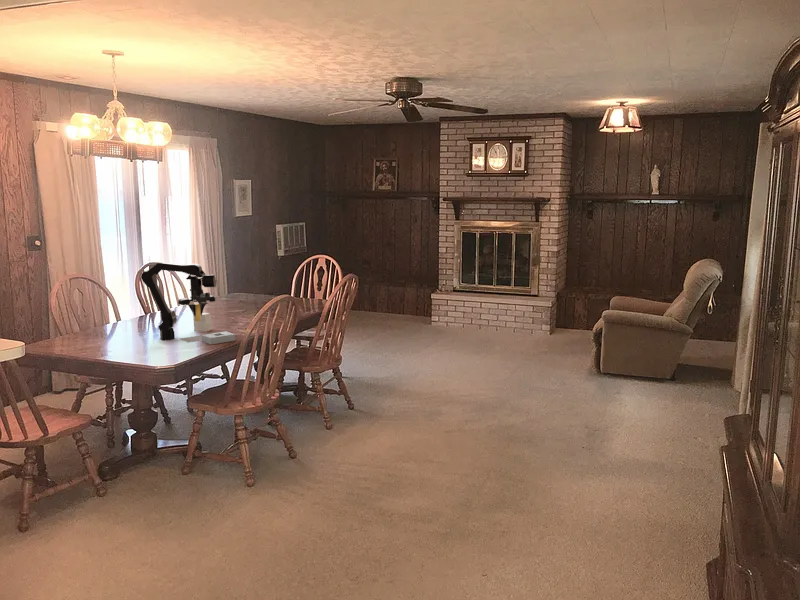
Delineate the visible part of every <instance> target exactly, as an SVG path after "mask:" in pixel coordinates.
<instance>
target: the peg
mask: <svg viewBox="0 0 800 600" xmlns="http://www.w3.org/2000/svg"><path fill="white" fill-rule="evenodd" d="M195 304H196V305H195V312H196V316H195V321H201V311H200V304H199V303H195Z"/></svg>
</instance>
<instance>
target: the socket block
mask: <svg viewBox="0 0 800 600" xmlns="http://www.w3.org/2000/svg"><path fill="white" fill-rule="evenodd" d="M201 341H202V342H204V343H206V344H209V345H216V344H217V345H218V344H222V343H223V344H224V343H229V342H235V341H236V335H235V333H232V332H229V331H227V330H225V331H220V332H218V331H217V332H212V333H206V334H202V340H201Z"/></svg>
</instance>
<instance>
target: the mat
mask: <svg viewBox="0 0 800 600" xmlns="http://www.w3.org/2000/svg"><path fill="white" fill-rule="evenodd" d="M202 335H203V334H202ZM202 335H201V334H199V335H194V336H188V337H187V336H186V337H182V338H181V337H180V338H179V340H180V341H181V340H182V341H184V342H186V343H193V342H200V341H202Z"/></svg>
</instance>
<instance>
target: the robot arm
mask: <svg viewBox="0 0 800 600" xmlns="http://www.w3.org/2000/svg"><path fill="white" fill-rule="evenodd" d="M161 271H168V272H169V271H170V272H180V273H184V274H187V275H188V276H187V277H186V279H185V280H189V281H190V282H189V283H190V289H189V291H190V296H189V297H190V298H189V299H188V298H185V297H184V298H179V299H178V302H177V303H178V305H179V306H180V305H181V306H188V307H189V309H190V311H191V312H192V316H193V315H194V316H196V312H195V305H196V304H200V311H201V315H202V313H204V309H205V307H206V305H207V304H209V302H210V303H213V302H216V297H215V295H211V293H210V292H204V289H203V287H204V288H216V287H217V279H216V275H215V274H207V273H205V271H204V270H203V268H202V265H200V264H199V263H189V264H187V263H186V264H180V263H170V262H169V263H168V262H163V261H159V262H157V263H156V264H155V265H154V266H152V267H151V268H149V269H148V270H146V271H143V272H142V273H141V276H140V279H141V281H142V282H143V284H144V285H146V287H147V288H148V289H149V290H150V292H151V294H152V297H153V298H154V301H155V303H156V305H157V307H158V309H159V311H160V319H161V324H159V325H158V329H159V336H160V337H159V340H161V341H171V340H175V339H176V337H175V335H176V334H175V330H174V325H175V324H176V323H177V321H178V318H177V317H178V316H177V314H176V312H175V310H174V309H173V310H171V308H169V307H168V304H167V302H166V300H165V298H164V296H163V294H162V291H161V290H160V286H159V285H158V277H157V275H158V274H159V273H160V272H161Z"/></svg>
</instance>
